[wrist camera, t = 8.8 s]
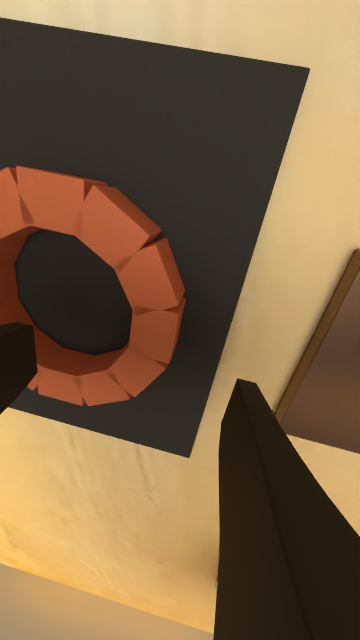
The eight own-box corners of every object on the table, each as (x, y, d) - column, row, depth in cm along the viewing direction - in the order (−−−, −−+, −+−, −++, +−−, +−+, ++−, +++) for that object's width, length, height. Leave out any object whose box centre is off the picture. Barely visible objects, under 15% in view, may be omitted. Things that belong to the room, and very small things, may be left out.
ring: (164, 400, 15) (156, 427, 13) (-3, 355, 16) (-32, 375, 14) (206, 202, 10) (201, 204, 9) (-40, 152, 11) (-91, 143, 9)
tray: (189, 453, 18) (189, 458, 17) (-22, 394, 19) (-26, 397, 18) (307, 73, 8) (311, 67, 8) (-117, 2, 10) (-130, -4, 9)
